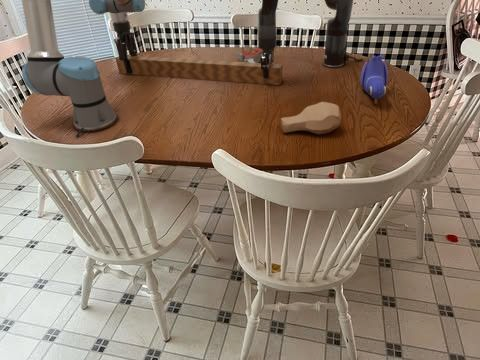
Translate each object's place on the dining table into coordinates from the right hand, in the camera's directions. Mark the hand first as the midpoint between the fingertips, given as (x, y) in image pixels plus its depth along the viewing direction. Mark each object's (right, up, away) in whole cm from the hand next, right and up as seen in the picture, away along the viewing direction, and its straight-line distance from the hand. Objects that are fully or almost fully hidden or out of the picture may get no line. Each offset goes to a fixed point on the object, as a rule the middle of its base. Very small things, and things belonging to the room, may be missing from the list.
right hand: (267, 75), depth 156 cm
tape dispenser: (-7, +12, +21) cm, 25 cm away
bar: (-33, +3, +12) cm, 35 cm away
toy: (+40, -13, -17) cm, 45 cm away
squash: (+12, -29, -36) cm, 48 cm away
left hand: (-66, +8, +21) cm, 70 cm away
